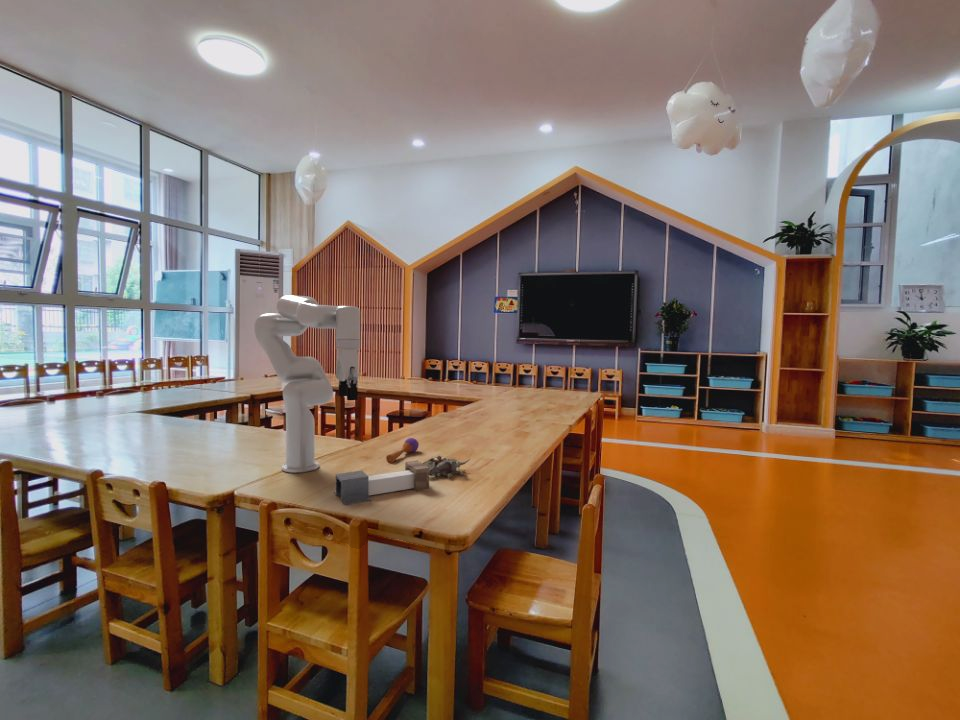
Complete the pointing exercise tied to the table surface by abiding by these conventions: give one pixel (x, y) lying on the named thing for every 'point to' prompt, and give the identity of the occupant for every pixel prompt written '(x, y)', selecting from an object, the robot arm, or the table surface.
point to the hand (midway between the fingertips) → (347, 397)
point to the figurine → (444, 466)
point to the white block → (390, 482)
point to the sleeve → (352, 487)
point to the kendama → (404, 449)
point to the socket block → (419, 474)
